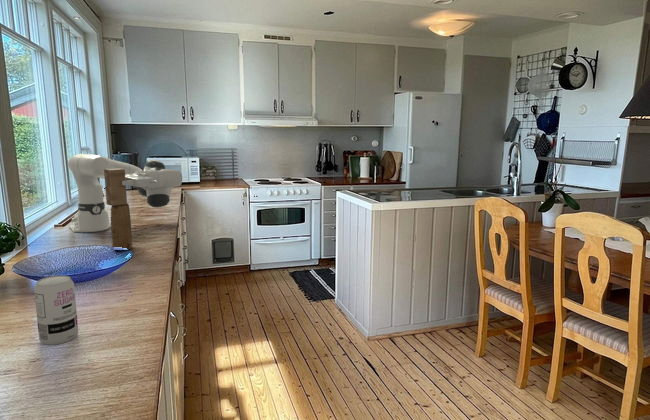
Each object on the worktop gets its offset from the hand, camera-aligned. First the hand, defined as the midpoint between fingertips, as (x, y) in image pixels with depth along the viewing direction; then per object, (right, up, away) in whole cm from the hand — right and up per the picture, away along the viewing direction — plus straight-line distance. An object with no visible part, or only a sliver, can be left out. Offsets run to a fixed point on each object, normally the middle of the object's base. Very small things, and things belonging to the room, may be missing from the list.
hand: (116, 182), depth 179 cm
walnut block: (0, -9, +1) cm, 10 cm away
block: (0, -29, +6) cm, 30 cm away
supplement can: (+23, -44, -75) cm, 90 cm away
